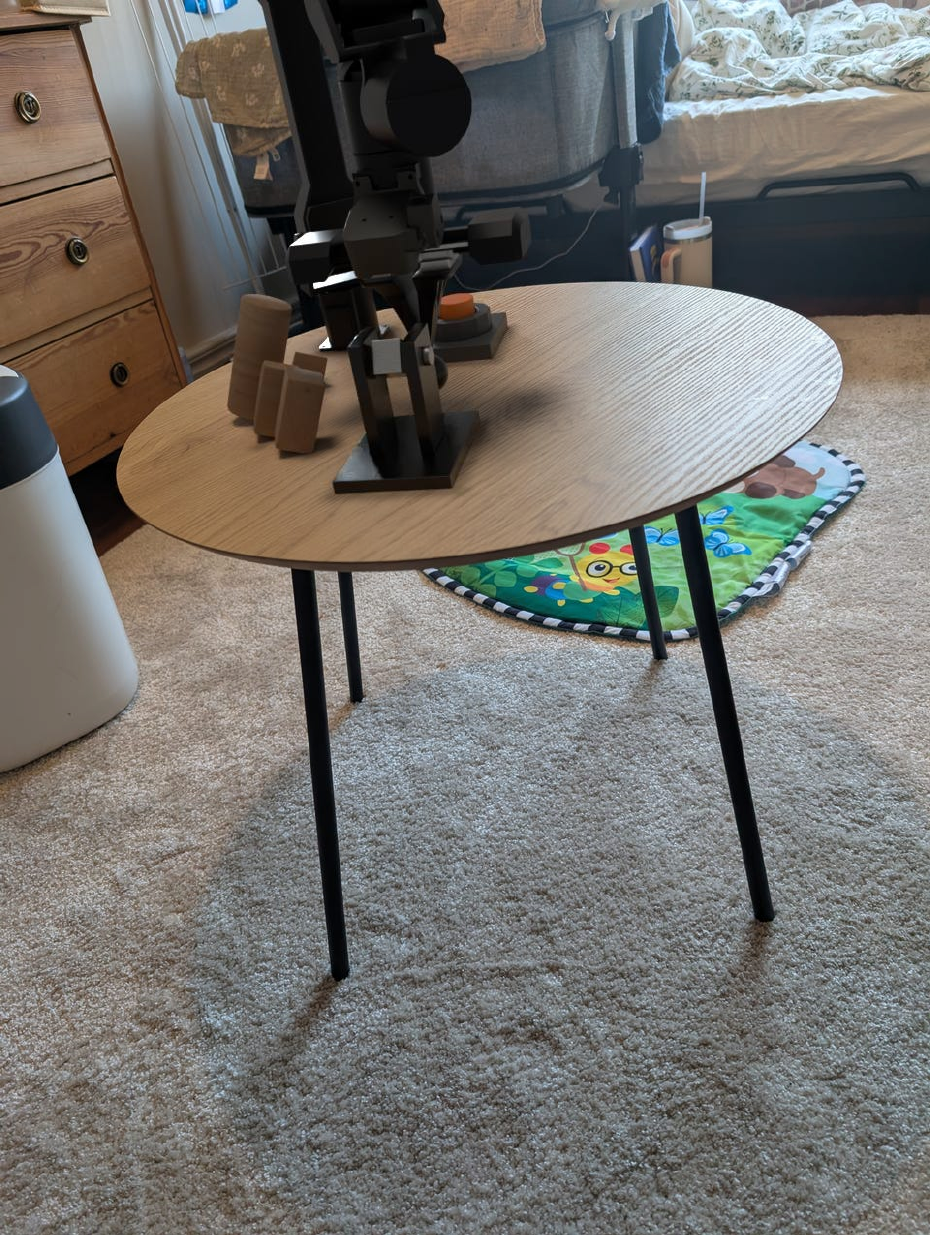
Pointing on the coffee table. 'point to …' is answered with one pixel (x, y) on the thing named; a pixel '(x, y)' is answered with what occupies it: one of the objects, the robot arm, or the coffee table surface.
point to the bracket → (404, 425)
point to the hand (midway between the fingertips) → (426, 354)
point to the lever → (399, 361)
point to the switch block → (470, 335)
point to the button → (456, 306)
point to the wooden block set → (275, 377)
